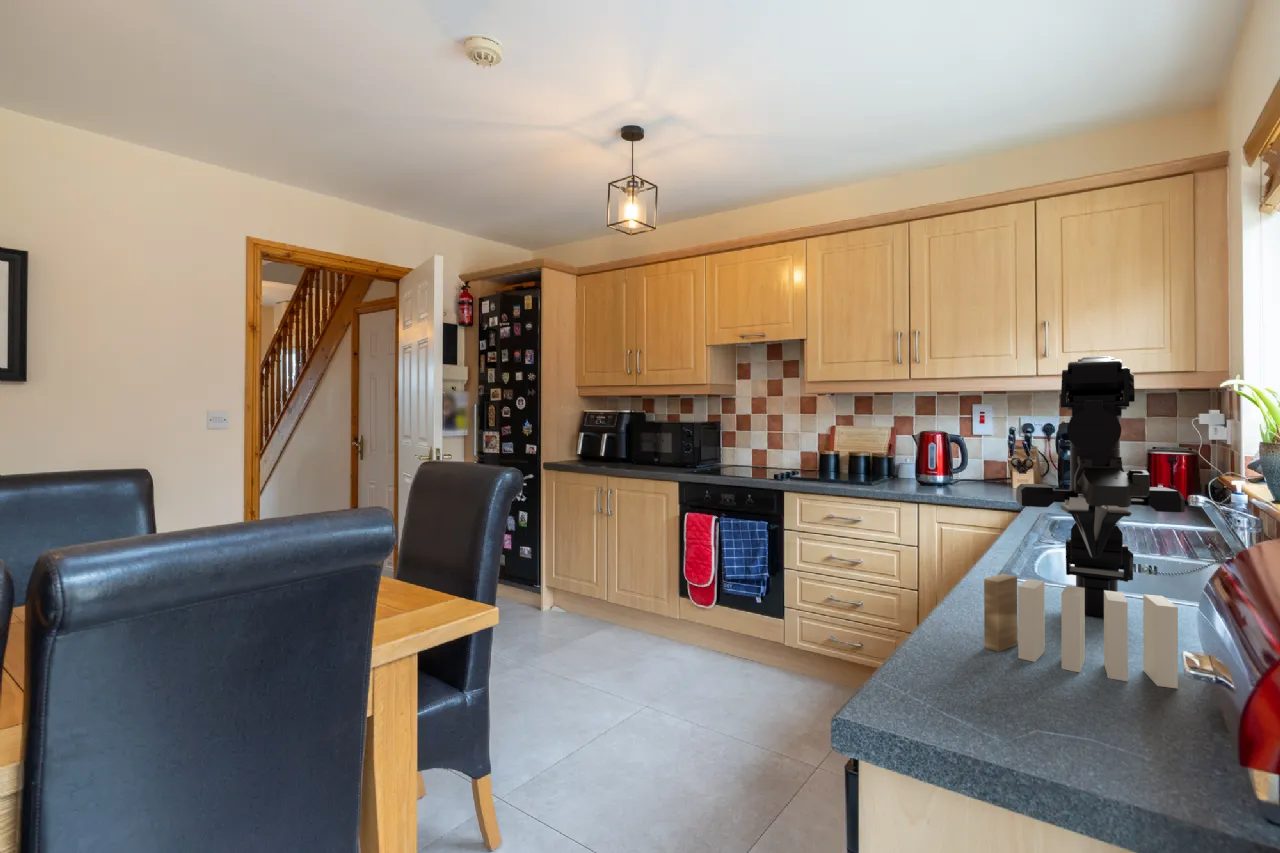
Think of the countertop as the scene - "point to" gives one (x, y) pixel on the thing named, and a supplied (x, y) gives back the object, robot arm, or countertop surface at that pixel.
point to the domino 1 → (1000, 612)
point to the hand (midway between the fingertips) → (1094, 557)
